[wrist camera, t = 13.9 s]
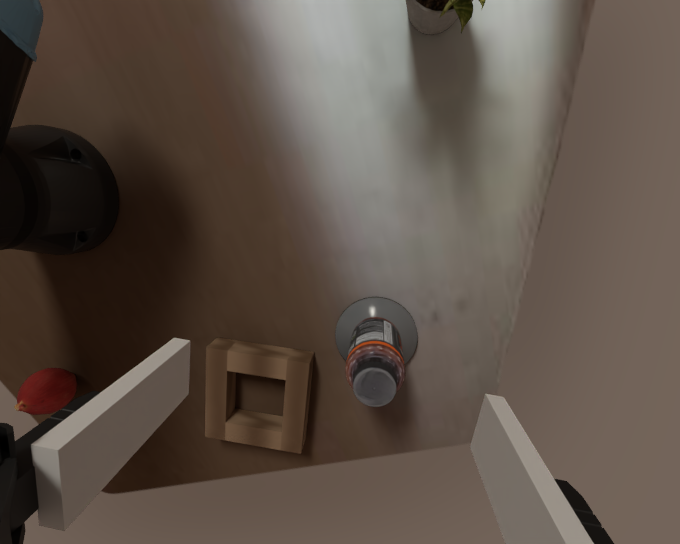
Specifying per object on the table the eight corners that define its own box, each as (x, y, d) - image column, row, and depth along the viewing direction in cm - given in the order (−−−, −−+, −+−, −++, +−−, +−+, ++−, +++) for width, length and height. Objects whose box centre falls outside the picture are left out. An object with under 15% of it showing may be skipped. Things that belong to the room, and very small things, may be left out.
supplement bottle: (400, 361, 42) (406, 420, 31) (351, 359, 43) (341, 416, 32) (401, 315, 41) (408, 360, 30) (351, 314, 41) (341, 357, 30)
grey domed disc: (332, 365, 44) (331, 367, 43) (340, 291, 42) (339, 293, 41) (410, 377, 43) (410, 380, 43) (423, 302, 41) (423, 304, 40)
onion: (88, 399, 50) (34, 438, 42) (52, 385, 50) (-8, 420, 42) (94, 366, 48) (40, 399, 41) (57, 351, 48) (-4, 382, 41)
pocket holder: (215, 422, 48) (205, 436, 45) (217, 337, 45) (206, 347, 42) (306, 437, 47) (301, 454, 44) (314, 351, 44) (309, 363, 41)
